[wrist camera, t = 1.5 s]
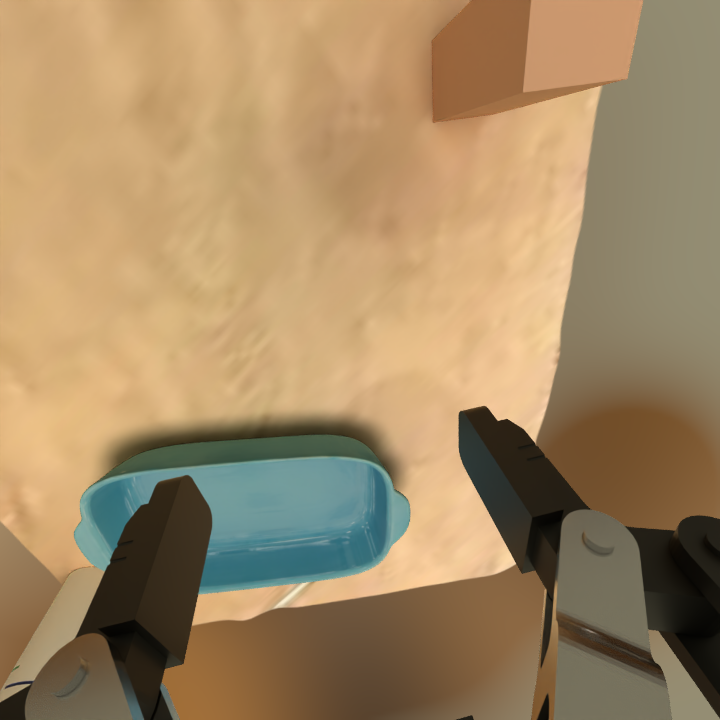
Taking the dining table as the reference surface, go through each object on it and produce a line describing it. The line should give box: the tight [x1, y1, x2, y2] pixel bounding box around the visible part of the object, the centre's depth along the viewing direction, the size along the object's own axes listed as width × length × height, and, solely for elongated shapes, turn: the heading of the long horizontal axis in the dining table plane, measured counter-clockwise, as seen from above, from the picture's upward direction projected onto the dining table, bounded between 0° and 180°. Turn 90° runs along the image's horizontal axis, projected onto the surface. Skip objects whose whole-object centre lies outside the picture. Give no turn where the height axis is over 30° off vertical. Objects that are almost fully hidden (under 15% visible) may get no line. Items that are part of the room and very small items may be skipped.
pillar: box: [432, 0, 643, 122], centre depth 21 cm, size 5×5×14 cm
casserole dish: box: [74, 435, 410, 594], centre depth 43 cm, size 37×22×7 cm, turn 91°
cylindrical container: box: [0, 567, 105, 702], centre depth 40 cm, size 7×7×25 cm
